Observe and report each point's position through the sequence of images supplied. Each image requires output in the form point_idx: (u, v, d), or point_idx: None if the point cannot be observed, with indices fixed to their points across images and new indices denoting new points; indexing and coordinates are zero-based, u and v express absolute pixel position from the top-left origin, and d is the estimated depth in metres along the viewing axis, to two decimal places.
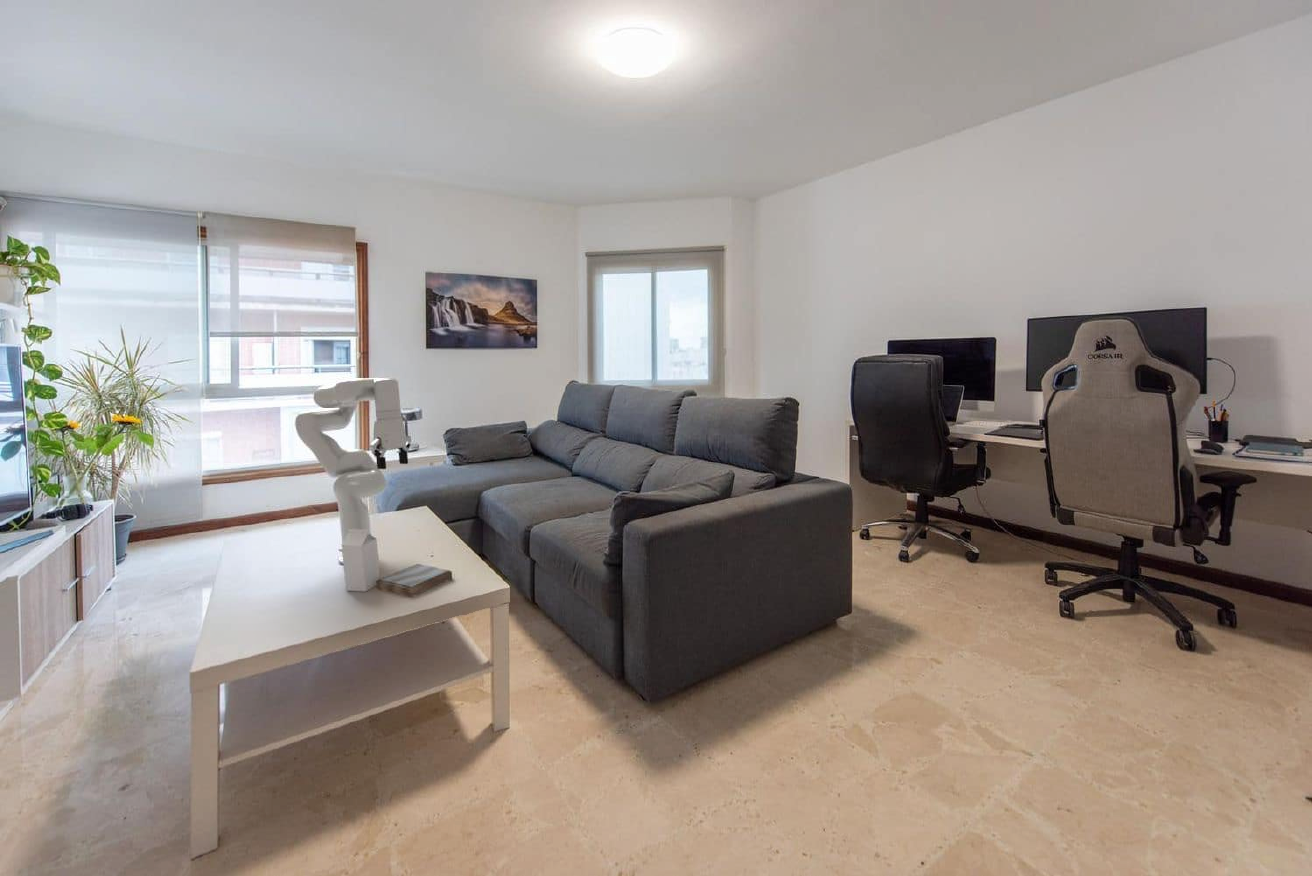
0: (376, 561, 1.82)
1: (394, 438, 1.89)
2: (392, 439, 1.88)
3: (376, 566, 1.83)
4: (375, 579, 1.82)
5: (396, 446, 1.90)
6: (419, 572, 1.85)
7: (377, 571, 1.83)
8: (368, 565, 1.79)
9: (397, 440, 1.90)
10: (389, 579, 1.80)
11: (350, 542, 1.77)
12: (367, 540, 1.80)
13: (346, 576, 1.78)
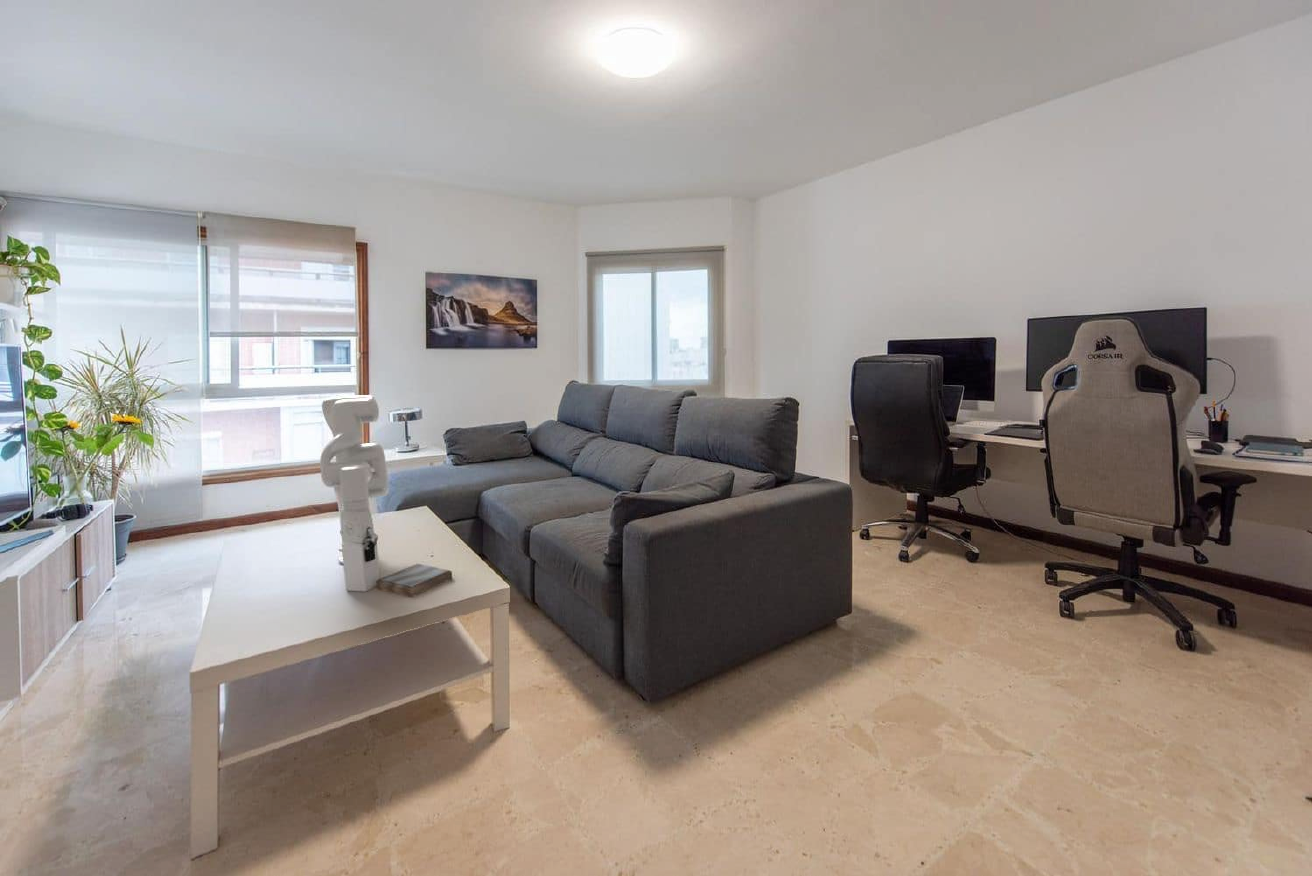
0: (376, 561, 1.82)
1: None
2: None
3: (376, 566, 1.83)
4: (375, 579, 1.82)
5: None
6: (419, 572, 1.85)
7: (377, 571, 1.83)
8: (368, 565, 1.79)
9: None
10: (389, 579, 1.80)
11: (350, 542, 1.77)
12: None
13: (346, 576, 1.78)
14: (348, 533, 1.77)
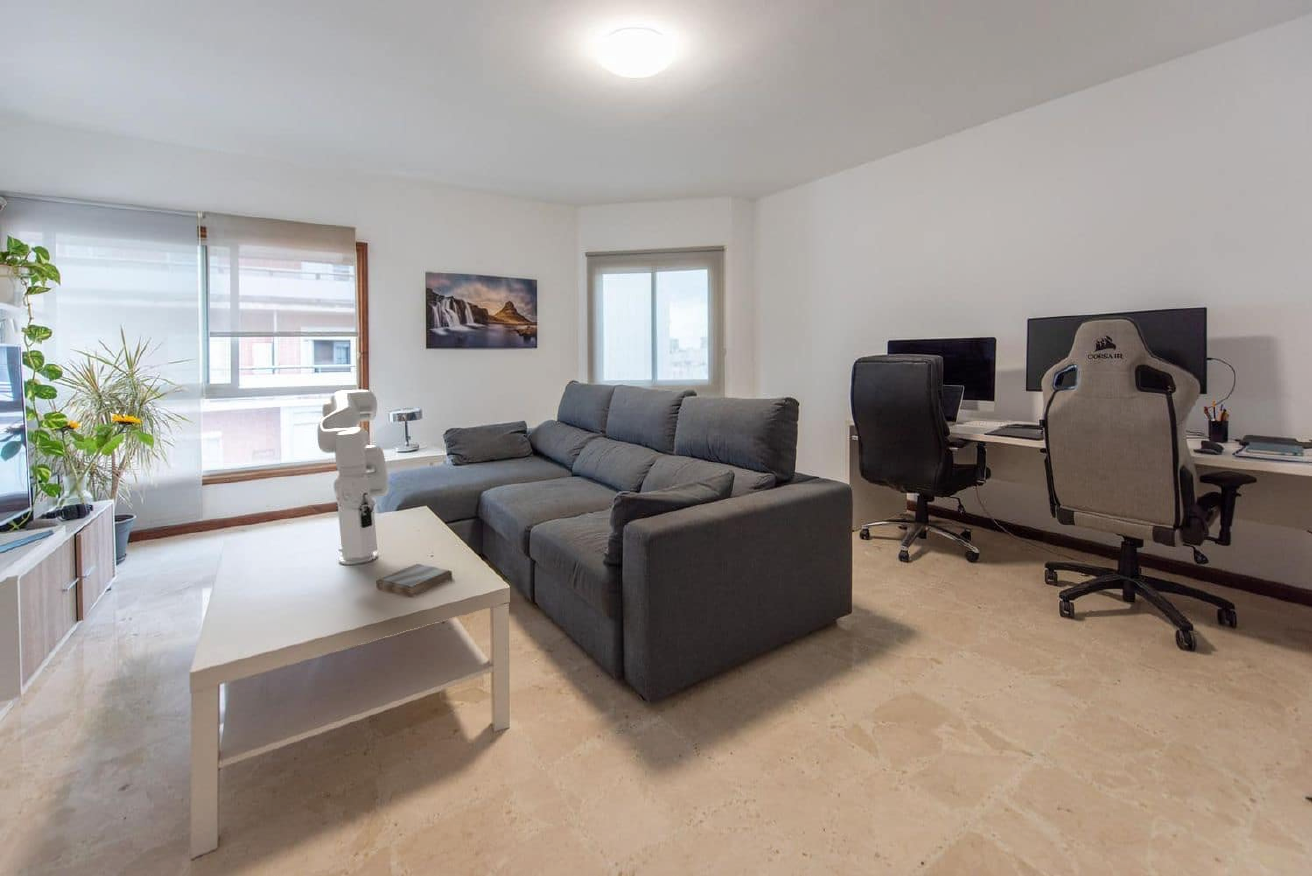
0: (373, 528, 1.82)
1: None
2: None
3: (373, 532, 1.82)
4: (372, 546, 1.81)
5: None
6: (419, 572, 1.85)
7: (374, 537, 1.82)
8: (365, 531, 1.78)
9: None
10: (389, 579, 1.80)
11: (347, 508, 1.76)
12: None
13: (343, 542, 1.77)
14: (345, 499, 1.76)
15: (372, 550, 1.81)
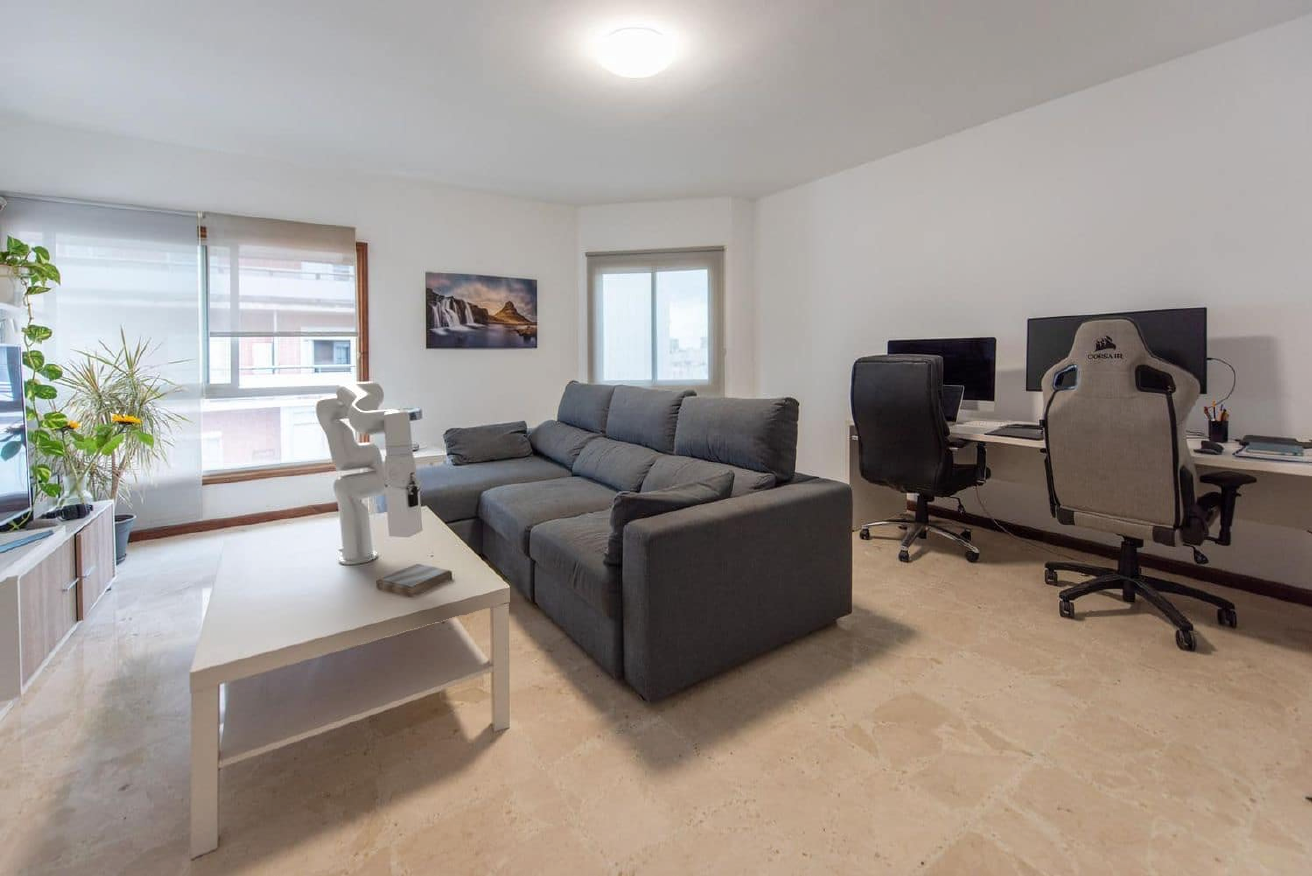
0: (419, 508, 1.82)
1: None
2: None
3: (419, 513, 1.82)
4: (418, 526, 1.81)
5: None
6: (419, 572, 1.85)
7: (420, 518, 1.83)
8: (411, 511, 1.78)
9: None
10: (389, 579, 1.80)
11: (394, 487, 1.77)
12: None
13: (389, 522, 1.78)
14: (392, 478, 1.77)
15: (418, 530, 1.82)
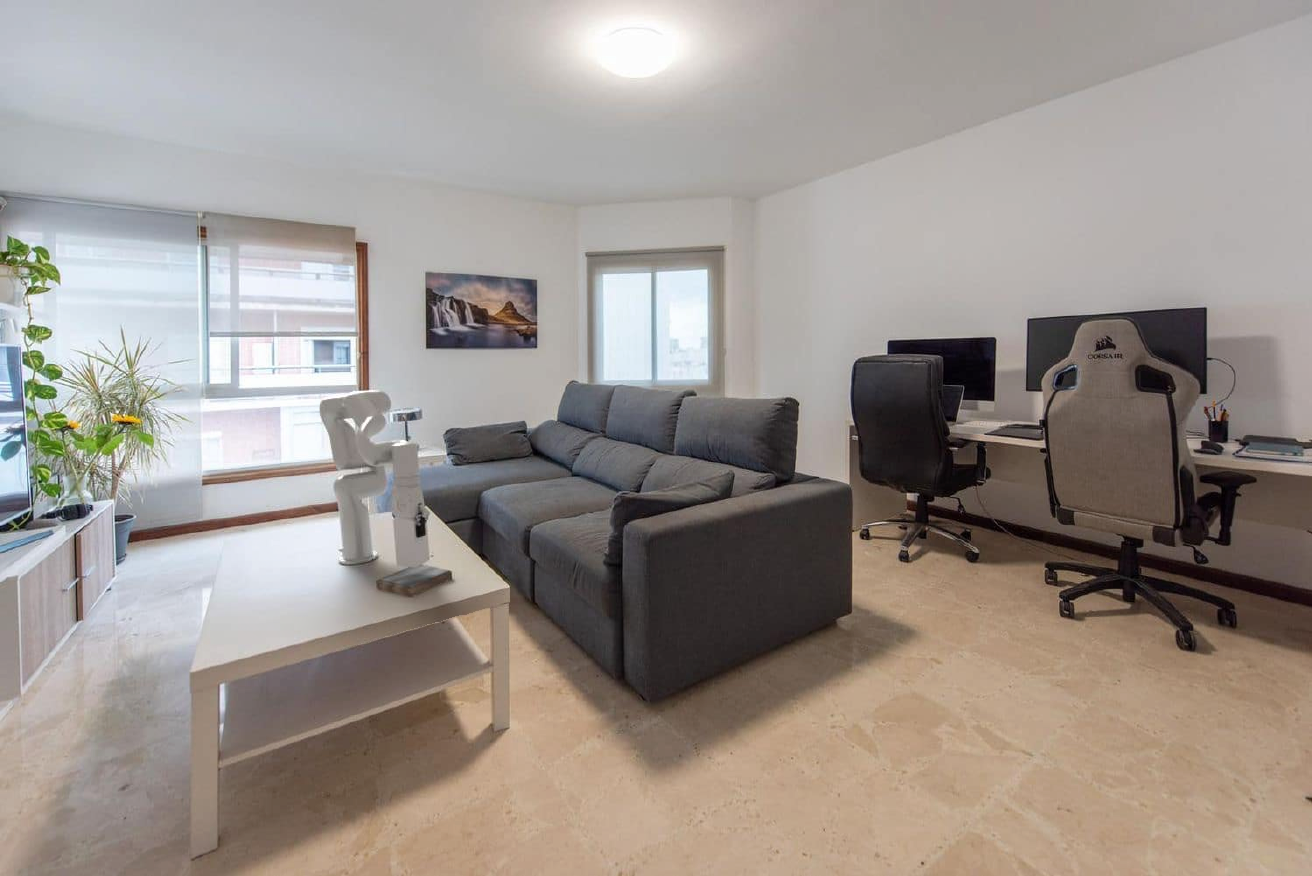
0: (426, 537, 1.84)
1: None
2: None
3: (426, 542, 1.84)
4: (425, 555, 1.83)
5: None
6: (419, 572, 1.85)
7: (427, 547, 1.84)
8: (419, 541, 1.80)
9: None
10: (389, 579, 1.80)
11: (401, 518, 1.78)
12: None
13: (397, 552, 1.79)
14: (399, 509, 1.78)
15: (425, 560, 1.83)
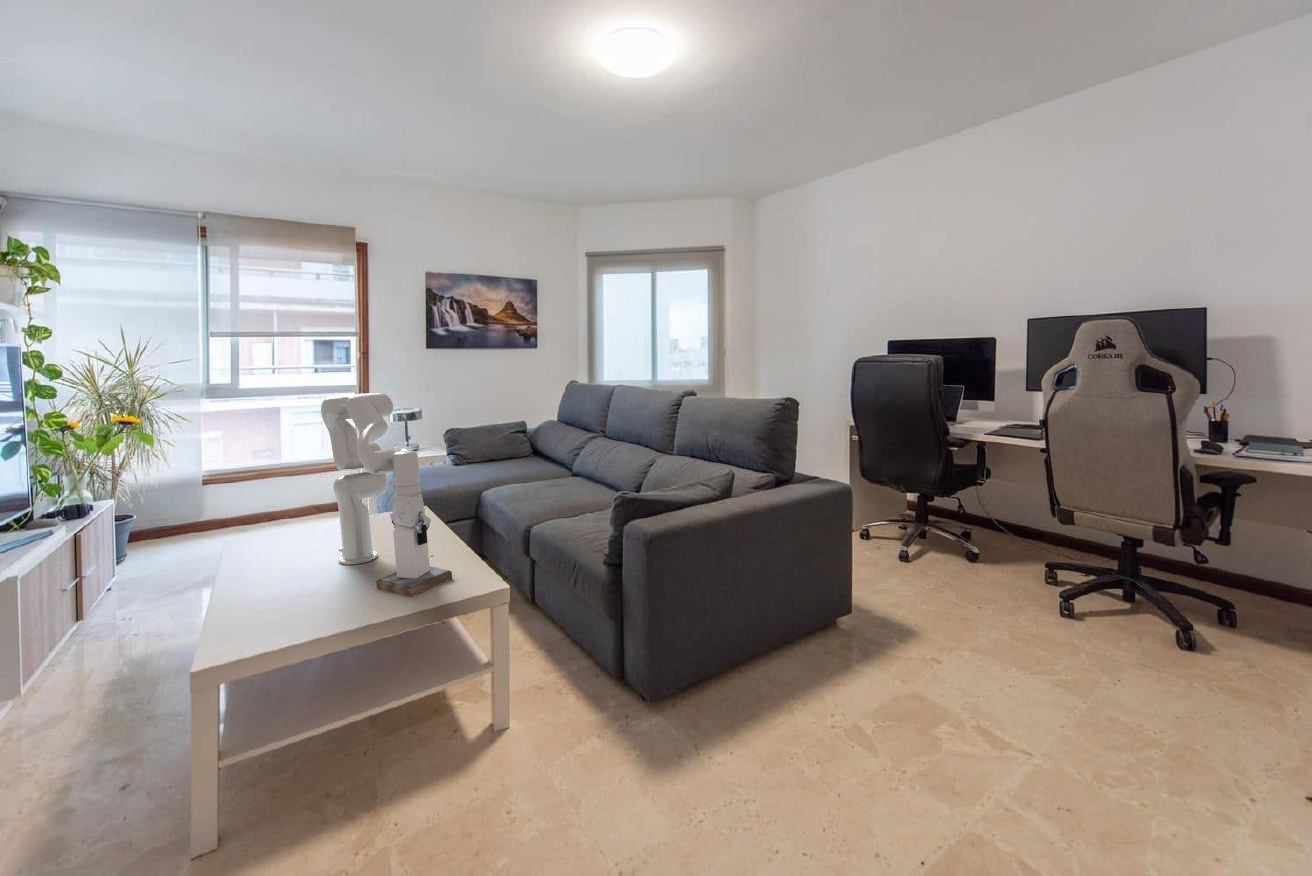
0: (426, 549, 1.84)
1: None
2: None
3: (426, 553, 1.84)
4: (425, 566, 1.84)
5: None
6: None
7: (427, 558, 1.85)
8: (419, 552, 1.81)
9: None
10: (389, 579, 1.80)
11: (402, 529, 1.79)
12: None
13: (397, 563, 1.80)
14: (400, 517, 1.79)
15: (425, 571, 1.84)
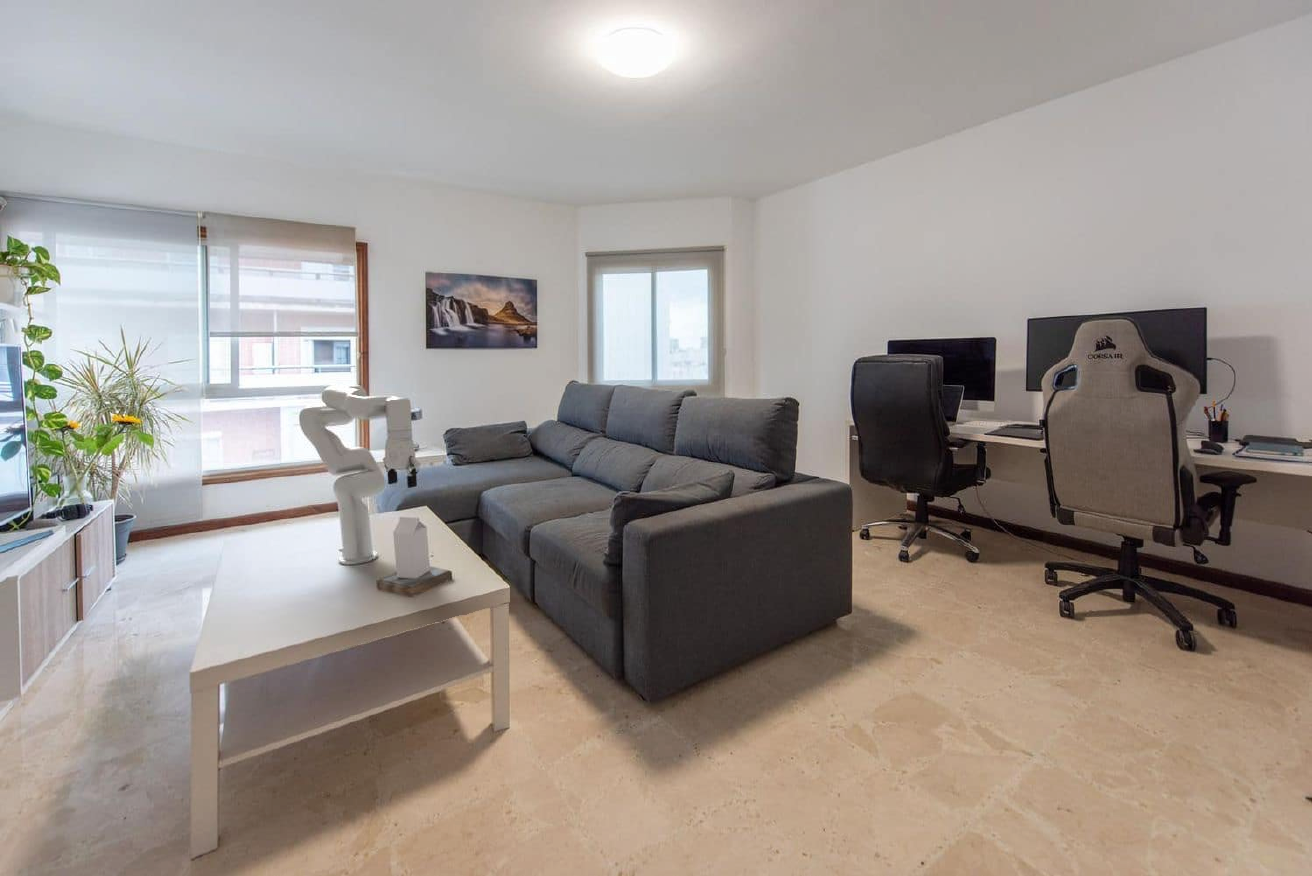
0: (426, 549, 1.84)
1: None
2: None
3: (426, 553, 1.84)
4: (425, 566, 1.84)
5: None
6: None
7: (427, 558, 1.85)
8: (419, 552, 1.81)
9: None
10: (389, 579, 1.80)
11: (402, 529, 1.79)
12: (418, 528, 1.82)
13: (397, 563, 1.80)
14: (392, 461, 1.88)
15: (425, 571, 1.84)
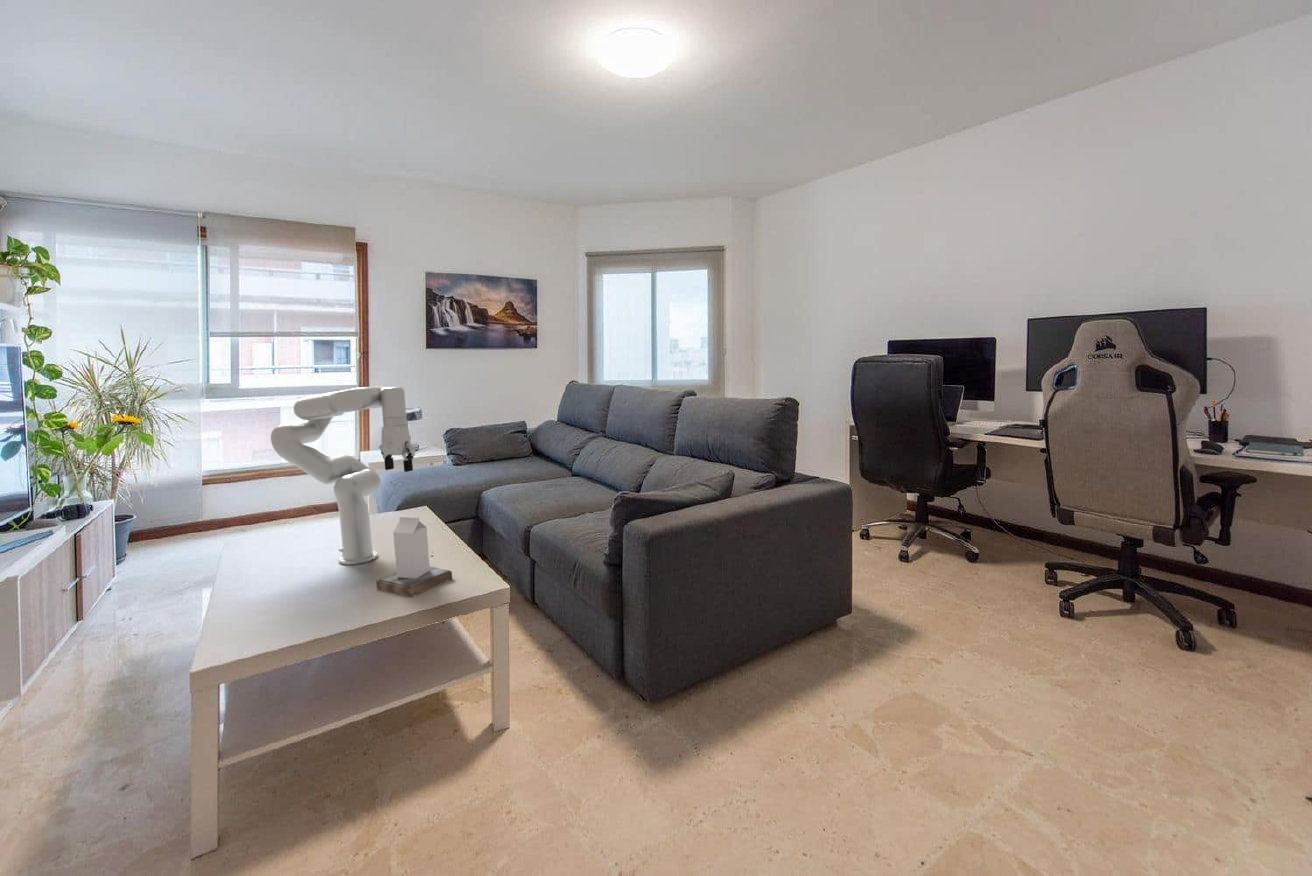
0: (426, 549, 1.84)
1: None
2: None
3: (426, 553, 1.84)
4: (425, 566, 1.84)
5: None
6: None
7: (427, 558, 1.85)
8: (419, 552, 1.81)
9: None
10: (389, 579, 1.80)
11: (402, 529, 1.79)
12: (418, 528, 1.82)
13: (397, 563, 1.80)
14: (388, 447, 1.98)
15: (425, 571, 1.84)
